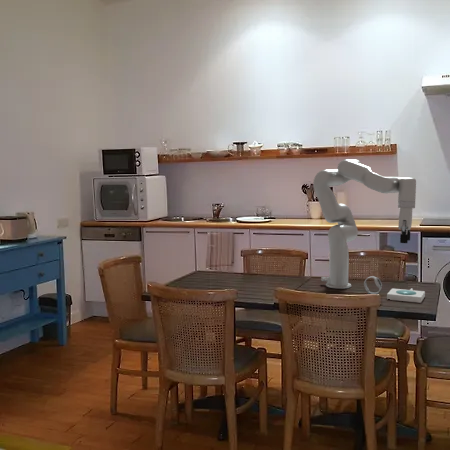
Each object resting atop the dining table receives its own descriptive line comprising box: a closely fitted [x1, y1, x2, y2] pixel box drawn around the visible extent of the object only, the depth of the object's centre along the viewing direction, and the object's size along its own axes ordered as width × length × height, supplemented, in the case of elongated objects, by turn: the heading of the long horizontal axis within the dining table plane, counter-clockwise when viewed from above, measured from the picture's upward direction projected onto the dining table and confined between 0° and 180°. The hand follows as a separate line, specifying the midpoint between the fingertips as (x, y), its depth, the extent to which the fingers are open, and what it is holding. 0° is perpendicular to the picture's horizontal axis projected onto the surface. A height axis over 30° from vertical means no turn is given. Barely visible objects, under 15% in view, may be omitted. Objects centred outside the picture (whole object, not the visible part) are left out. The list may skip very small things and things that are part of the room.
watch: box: [363, 275, 383, 295], centre depth 265 cm, size 6×8×11 cm
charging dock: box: [386, 288, 426, 304], centre depth 274 cm, size 15×24×3 cm, turn 154°
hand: (405, 241), depth 267 cm, fingers open, 9 cm apart
